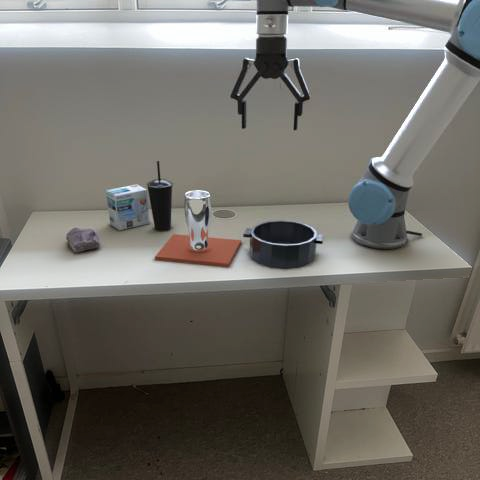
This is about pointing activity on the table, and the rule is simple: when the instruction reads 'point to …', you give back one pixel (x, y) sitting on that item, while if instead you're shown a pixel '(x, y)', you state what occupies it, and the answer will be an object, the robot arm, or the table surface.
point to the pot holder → (215, 256)
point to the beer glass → (198, 220)
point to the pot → (283, 254)
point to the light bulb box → (128, 206)
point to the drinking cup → (160, 201)
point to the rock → (82, 239)
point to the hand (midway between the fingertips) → (269, 128)
